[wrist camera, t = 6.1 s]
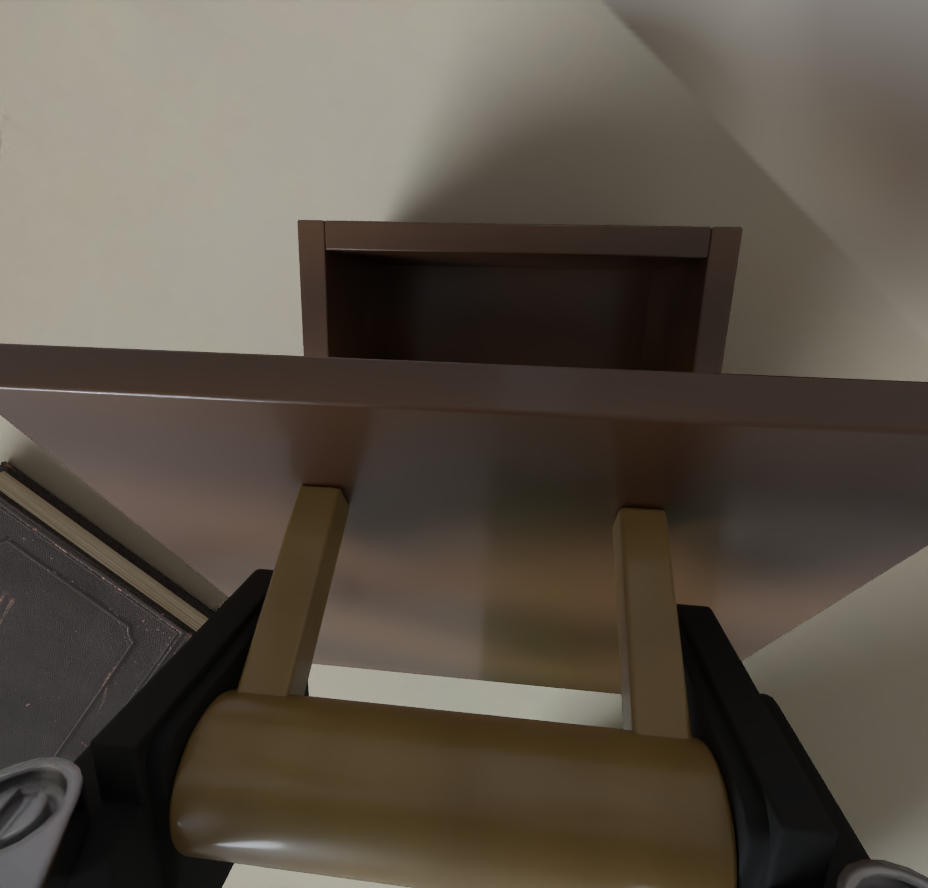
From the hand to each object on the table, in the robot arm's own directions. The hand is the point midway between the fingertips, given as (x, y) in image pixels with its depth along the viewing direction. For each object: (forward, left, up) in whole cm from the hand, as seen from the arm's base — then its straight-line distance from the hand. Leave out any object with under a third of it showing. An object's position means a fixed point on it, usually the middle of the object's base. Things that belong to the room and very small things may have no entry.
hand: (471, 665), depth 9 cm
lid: (+1, 0, -4) cm, 5 cm away
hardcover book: (+27, -21, -19) cm, 39 cm away
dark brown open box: (0, 0, -19) cm, 19 cm away
